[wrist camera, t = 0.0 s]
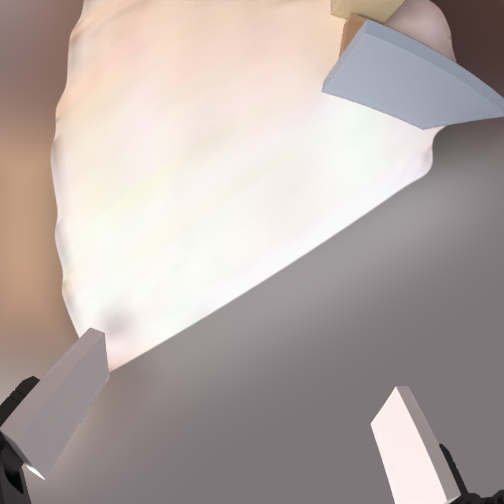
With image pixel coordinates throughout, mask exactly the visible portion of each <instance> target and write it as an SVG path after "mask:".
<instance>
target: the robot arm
mask: <svg viewBox="0 0 504 504" xmlns="http://www.w3.org/2000/svg"><path fill="white" fill-rule="evenodd" d="M108 380H109V370H108V362H107V353H106V343H105V333H103V332H101V331H98V330H95V329H93V328H89V329H88V330H87V331H86V332H85V333H84V334H83V335H82V336H81V337H80V338H79V340H78V341H77V342H76V343H75V344H74V345H73V346H72V347H71V348H70V349H69V350H68V351H67V352H66V353H65V354H64V355H63V356H62V357H61V359H60V360H59V361H58V362H57V363H56V364H55V365H54V366H53V367H52V368H51V369H50V370H49V371H48V372H47V373H46V375H45V376H44V377H43V378H42V379H41V380H39V379H37V378H36V377H34V376H32V377H30V378H28V379H25V380H23V381H22V382H21V383H20V384H19V385H18V386H17V388H16V389H15V391H13V392H12V393H11V394H10V396H9V397H8V398H6V400H5V401H4V402H3V403H2V404H1V405H0V504H31V501H30V497H29V494H28V490H27V486H26V482H25V478H24V473H23V470H22V467H21V466H22V465H23V463H25V465H26V466H27V467H28V468H29V469H30V470H31V471H32V472H34V473H35V474H37V475H38V476H40V477H42V478H43V479H44V480H46V478H47V476H48V475H49V473H50V471H51V470H52V468H53V466H54V464H55V463H56V461H57V459H58V458H59V456H60V454H61V453H62V451H63V450H64V448H65V446H66V445H67V443H68V441H69V440H70V438H71V436H72V435H73V433H74V432H75V430H76V428H77V427H78V425H79V424H80V422H81V421H82V419H83V417H84V416H85V414H86V413H87V411H88V410H89V408H90V407H91V405H92V404H93V402H94V400H95V399H96V397H97V396H98V394H99V393H100V391H101V390H102V388H103V387H104V385H105V384H106V382H107V381H108ZM371 427H372V429H373V432H374V436H375V439H376V442H377V445H378V448H379V451H380V454H381V457H382V460H383V464H384V467H385V470H386V473H387V476H388V480H389V483H390V487H391V490H392V494H393V497H394V501H395V504H504V490H500V491H498V492H497V493H496V494H495V495H493V496H492V497H486V498H481V497H480V496H479V495H477V494H476V493H470V494H469V493H468V491H467V489H466V487H465V485H464V482H463V480H462V478H461V476H460V474H459V471H458V469H457V468H456V465H455V463H454V462H453V459H452V457H451V455H450V452H449V451H448V450H447V449H446V448H445V447H444V446H443V445H442V444H439V445H438V443H437V440H436V438H435V436H434V434H433V432H432V430H431V429H430V426H429V424H428V423H427V421H426V419H425V417H424V415H423V414H422V411H421V409H420V407H419V405H418V404H417V402H416V400H415V398H414V397H413V394H412V393H411V391H410V389H409V387H395V389H394V391H393V392H392V394H391V395H390V397H389V398H388V400H387V401H386V403H385V404H384V406H383V407H382V409H381V410H380V411H379V413H378V414H377V416H376V417H375V419H374V420H373V421H372V423H371Z"/></svg>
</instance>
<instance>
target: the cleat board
mask: <svg viewBox="0 0 504 504" xmlns="http://www.w3.org/2000/svg"><path fill="white" fill-rule="evenodd" d="M322 92H324V93H327V94H331V95H334V96H337V97H341V98H344V99H347V100H350V101H353V102H356V103H359V104H362V105H365V106H367V107H370V108H373V109H376V110H378V111H381V112H383V113H386V114H388V115H391V116H393V117H396V118H398V119H400V120H403V121H405V122H407V123H410V124H412V125H414V126H416V127H418V128H420V129H423V130H424V129H429V128H434V127H440V126H445V125H450V124H456V123H462V122H468V121H474V120H480V119H488V118H496V117H504V98H503V97H501V96H500V95H499V94H498V93H497V92H495V91H494V90H493V89H491V88H490V87H489V86H488V85H486V84H485V83H484V82H482V81H481V80H480V79H478V78H477V77H476V76H474V75H473V74H471V73H470V72H468V71H467V70H466V69H464V68H463V67H461V66H459V65H458V64H456V63H455V62H453V61H452V60H450V59H448V58H447V57H445V56H444V55H442V54H440V53H438V52H437V51H435V50H433V49H432V48H430V47H428V46H426V45H424V44H422V43H420V42H419V41H417V40H415V39H413V38H411V37H409V36H406V35H404V34H402V33H400V32H398V31H396V30H393V29H391V28H389V27H386V26H384V25H382V24H379V23H377V22H374V21H371V20H369V19H366V18H363V17H361V16H358V15H355V14H352V13H351V14H350V16H349V18H348V19H347V21H346V23H345V25H344V29H343V36H342V42H341V49H340V55H339V60H338V61H337V63H336V64H335V66H334V67H333V69H332V70H331V72H330V73H329V75H328V76H327V78H326V79H325V81H324V83H323V88H322Z"/></svg>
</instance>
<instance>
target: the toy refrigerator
mask: <svg viewBox="0 0 504 504" xmlns="http://www.w3.org/2000/svg"><path fill="white" fill-rule="evenodd" d="M405 1H406V0H331V15H333V16H336V17H340V18H344V19H348V18H349V16H350V14H351V13H352V14H355V15H358V16H361V17H363V18H366V19H369V20H371V21H374V22H377V23H379V24H382V25H384V24H385V22H386V21H387V20H388V19H389V18H390V17H391V16H392V15H393V14H394V13H395V12H396V10H397V9H398V8H399V7H400V6H401V5H402V4H403V3H404V2H405Z"/></svg>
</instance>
